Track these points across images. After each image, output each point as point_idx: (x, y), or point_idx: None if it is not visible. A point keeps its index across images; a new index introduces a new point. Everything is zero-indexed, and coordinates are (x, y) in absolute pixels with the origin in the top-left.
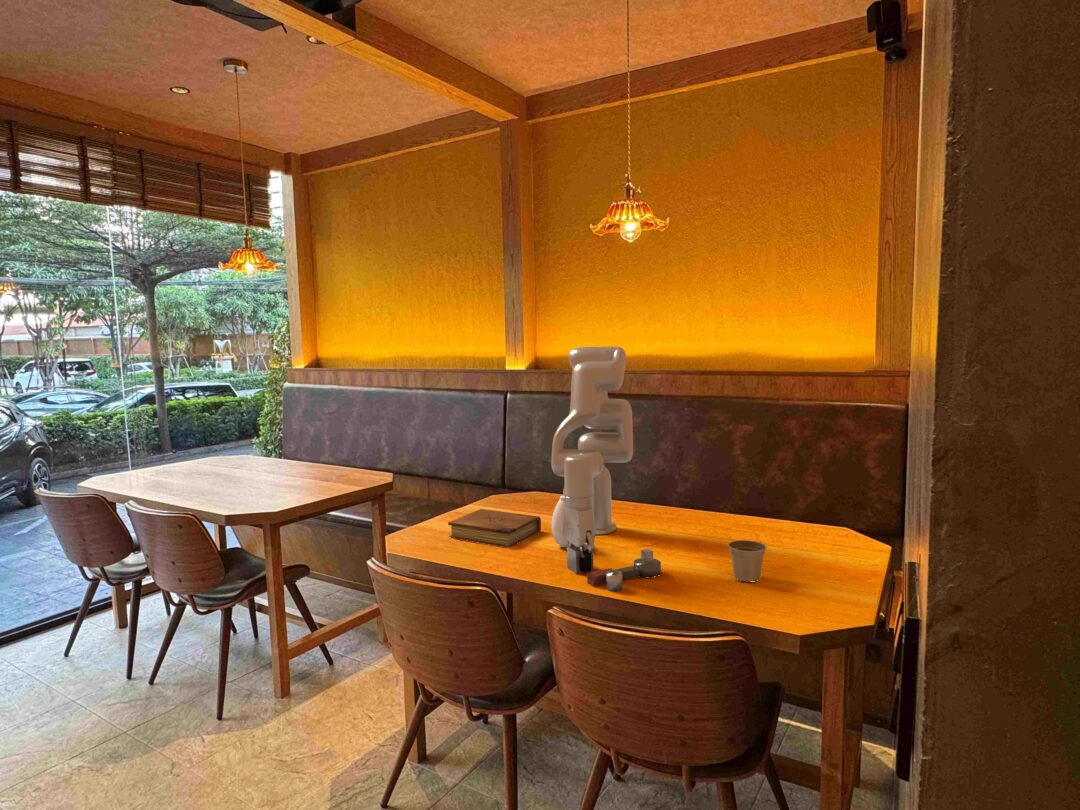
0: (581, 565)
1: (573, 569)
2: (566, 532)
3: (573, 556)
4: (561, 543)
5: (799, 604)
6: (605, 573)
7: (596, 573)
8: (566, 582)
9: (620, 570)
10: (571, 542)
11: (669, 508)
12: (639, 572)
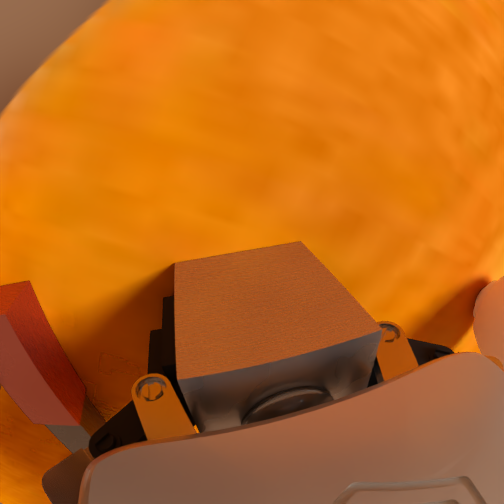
0: (163, 327)
1: (215, 264)
2: (467, 443)
3: (226, 325)
4: (494, 291)
5: (5, 494)
6: (7, 384)
7: (1, 352)
8: (51, 161)
9: (71, 436)
10: (291, 429)
11: None
12: None
